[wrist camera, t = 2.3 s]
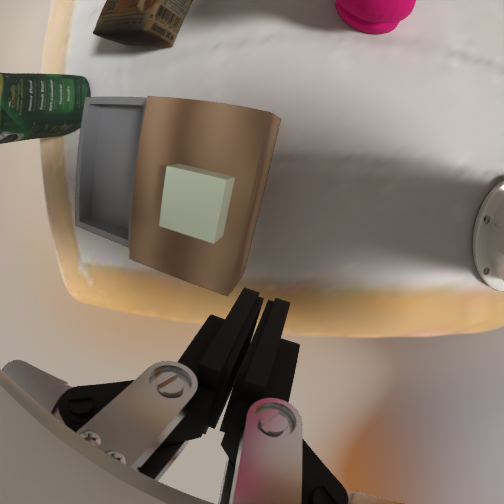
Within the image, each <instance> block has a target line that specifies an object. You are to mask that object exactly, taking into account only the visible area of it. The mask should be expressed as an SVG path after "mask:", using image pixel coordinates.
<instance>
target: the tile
mask: <svg viewBox="0 0 504 504" xmlns="http://www.w3.org/2000/svg"><path fill="white" fill-rule="evenodd" d="M234 181H235V177H233V176H230V175H226V174H221V173H217V172H213V171H209V170H205V169H200V168H196V167H192V166H187V165H183V164H175V165H169V166H167V167H166V174H165V181H164V188H163V196H162V204H161V212H160V222H159V226H161V227H164V228H167V229H170V230H173V231H176V232H179V233H182V234H185V235H188V236H192V237H195V238H198V239H201V240H204V241H207V242H210V243H213V244H214V243H215V242H217V241H218V240H219V239H220V238H221V237H222V236H223V234H224V229H225V224H226V219H227V214H228V209H229V204H230V200H231V195H232V190H233V185H234Z"/></svg>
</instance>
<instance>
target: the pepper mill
mask: <svg viewBox="0 0 504 504" xmlns="http://www.w3.org/2000/svg"><path fill="white" fill-rule="evenodd" d="M415 2H416V0H336V9H337V12H338V14H339V15H340V17H341V18H342V19H343V20H344V21H345V22H346V23H347V24H349V25H350V26H351V27H353V28H355V29H357V30H359V31H362V32H365V33H369V34H384V33H388V32H390V31H392V30H394V29H395V28H396V27H397V25H398V23H399V21H401V20H403V19H405V18H406V17H407V16H408V15H409V14H410V13H411V12H412V10H413V8H414V5H415Z"/></svg>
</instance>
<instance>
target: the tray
mask: <svg viewBox="0 0 504 504" xmlns="http://www.w3.org/2000/svg"><path fill="white" fill-rule="evenodd" d="M146 103H147V98H142V97H86V98H85V103H84V109H83V115H82V122H81V129H80V138H79V147H78V158H77V172H76V197H75V223H76V226H78V227H80V228H82V229H85V230H87V231H90V232H92V233H94V234H97V235H99V236H102V237H104V238H107V239H109V240H112V241H114V242H117V243H119V244H122V245H124V246H127V247H129V248H130V230H131V214H132V201H133V190H134V180H135V171H136V163H137V156H138V149H139V142H140V136H141V130H142V124H143V118H144V113H145V108H146Z"/></svg>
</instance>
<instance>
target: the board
mask: <svg viewBox="0 0 504 504" xmlns="http://www.w3.org/2000/svg"><path fill="white" fill-rule="evenodd" d="M280 122H281V118H279V117H277V116H276V115H274V114H272V113H271V112H267V111H262V110H257V109H252V108H247V107H241V106H235V105H229V104H222V103H215V102H208V101H200V100H191V99H181V98H169V97H154V96H148V98H147V103H146V108H145V113H144V118H143V124H142V130H141V136H140V142H139V149H138V156H137V163H136V171H135V180H134V190H133V201H132V214H131V230H130V258H129V259H131V260H134V261H136V262H139V263H141V264H144V265H146V266H149V267H151V268H154V269H156V270H159V271H161V272H164V273H166V274H169V275H171V276H174V277H177V278H179V279H182V280H184V281H187V282H190V283H192V284H195V285H198V286H200V287H203V288H206V289H209V290H211V291H214V292H217V293H220V294H222V295H225V296H229V294H230V293H231V291H232V290H233V288H234V287H235V286H236V284H237V283H238V281H239V280H240V278H241V277H242V275H243V274H244V271H245V266H246V262H247V258H248V254H249V250H250V246H251V241H252V237H253V233H254V229H255V225H256V221H257V217H258V212H259V208H260V204H261V200H262V196H263V192H264V188H265V184H266V179H267V175H268V171H269V167H270V163H271V159H272V155H273V151H274V147H275V142H276V138H277V134H278V130H279V126H280ZM175 164H183V165H187V166H192V167H196V168H200V169H205V170H209V171H213V172H217V173H221V174H226V175H230V176H233V177H235V181H234V185H233V190H232V195H231V200H230V204H229V209H228V214H227V219H226V224H225V229H224V234H223V236H222V237H221V238H220V239H219V240H218V241H217V242H215V243H214V244H213V243H210V242H207V241H204V240H201V239H198V238H195V237H192V236H188V235H185V234H182V233H179V232H176V231H173V230H170V229H167V228H164V227H161V226H159V222H160V212H161V204H162V196H163V188H164V181H165V174H166V167H167V166H169V165H175Z"/></svg>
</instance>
